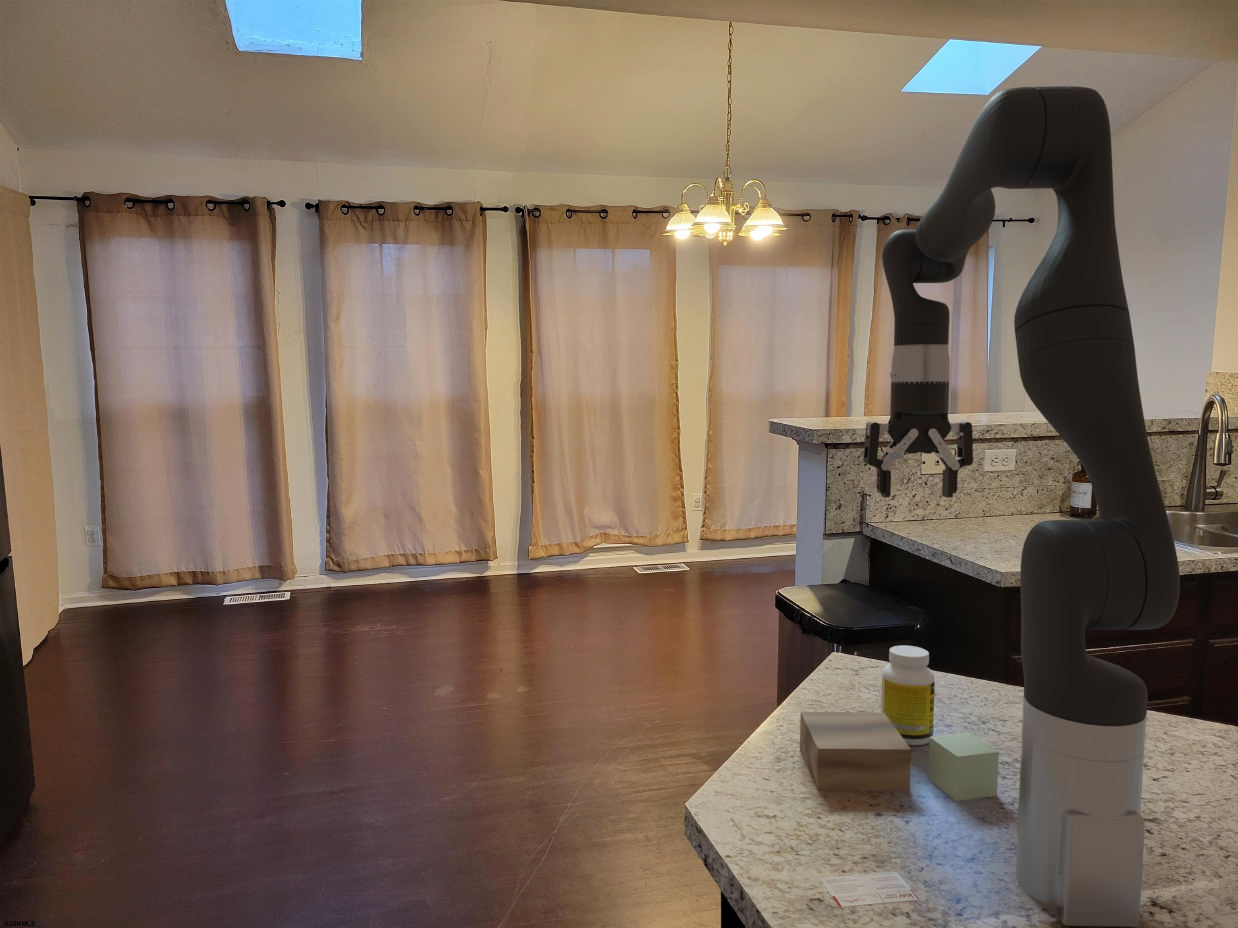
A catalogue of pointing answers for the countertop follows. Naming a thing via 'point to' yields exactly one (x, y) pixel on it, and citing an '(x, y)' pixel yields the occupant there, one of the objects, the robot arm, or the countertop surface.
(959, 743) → the sage cube
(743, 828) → the countertop surface
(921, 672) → the pill bottle
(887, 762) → the walnut block
